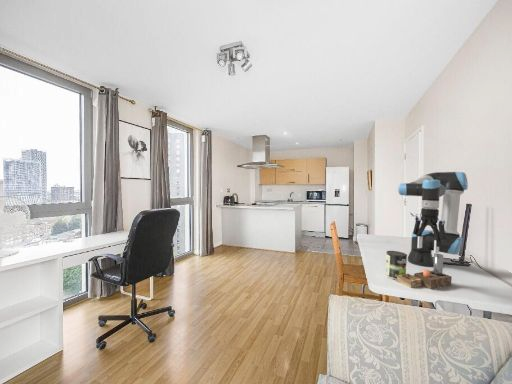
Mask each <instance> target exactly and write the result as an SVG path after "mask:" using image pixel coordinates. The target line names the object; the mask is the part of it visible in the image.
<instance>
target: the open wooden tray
mask: <svg viewBox="0 0 512 384" xmlns="http://www.w3.org/2000/svg"><path fill="white" fill-rule="evenodd" d="M396 282H398V283H400V284H402V285H404V286H406V287H408V288H417V287H422V279H420V278H417V277H415V276H414V275H412V274H409V273H406V274H402V275H397V280H396Z"/></svg>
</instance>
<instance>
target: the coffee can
mask: <svg viewBox="0 0 512 384" xmlns="http://www.w3.org/2000/svg"><path fill="white" fill-rule="evenodd" d="M385 260H386V265H385V276H386V277H387V278H389V279H393V280H395V281H397V275H402V274H407V262H408V254H406V253H405V252H401V251H396V250H387V251H386V259H385Z"/></svg>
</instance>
